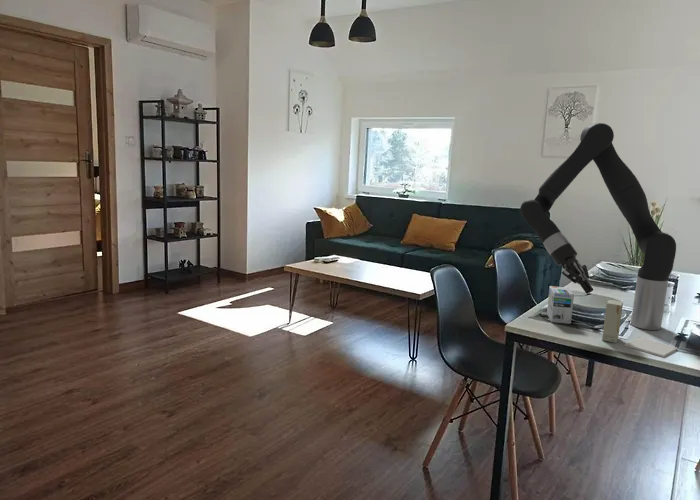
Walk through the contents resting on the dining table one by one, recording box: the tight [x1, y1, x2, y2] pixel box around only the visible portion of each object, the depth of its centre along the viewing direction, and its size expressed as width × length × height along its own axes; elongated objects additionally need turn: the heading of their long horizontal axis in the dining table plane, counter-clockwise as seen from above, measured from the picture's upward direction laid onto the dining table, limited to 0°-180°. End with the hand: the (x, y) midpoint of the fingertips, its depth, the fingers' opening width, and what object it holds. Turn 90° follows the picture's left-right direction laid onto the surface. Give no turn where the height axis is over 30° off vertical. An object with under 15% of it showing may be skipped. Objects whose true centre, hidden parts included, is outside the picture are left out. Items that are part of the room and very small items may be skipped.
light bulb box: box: [546, 285, 575, 325], centre depth 185 cm, size 11×7×11 cm, turn 168°
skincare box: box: [601, 299, 624, 343], centre depth 165 cm, size 6×4×12 cm
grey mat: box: [624, 337, 678, 358], centre depth 160 cm, size 11×11×1 cm
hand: (590, 291), depth 170 cm, fingers closed
